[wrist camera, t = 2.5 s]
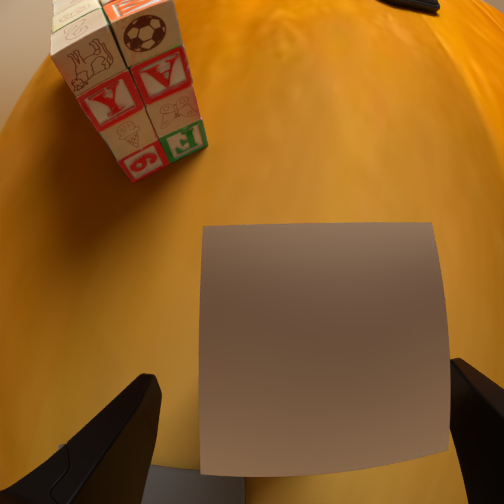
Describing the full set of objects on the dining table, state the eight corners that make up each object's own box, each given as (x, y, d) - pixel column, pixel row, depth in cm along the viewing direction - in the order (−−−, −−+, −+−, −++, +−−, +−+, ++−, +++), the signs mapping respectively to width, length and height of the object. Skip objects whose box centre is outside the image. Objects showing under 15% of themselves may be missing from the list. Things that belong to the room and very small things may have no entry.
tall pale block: (332, 395, 16) (448, 449, 4) (248, 398, 16) (200, 474, 5) (329, 315, 18) (431, 222, 6) (248, 317, 18) (203, 226, 6)
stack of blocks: (92, 57, 28) (53, -23, 17) (141, 34, 29) (112, -51, 17) (133, 186, 21) (46, 54, 10) (212, 147, 22) (173, -6, 10)
